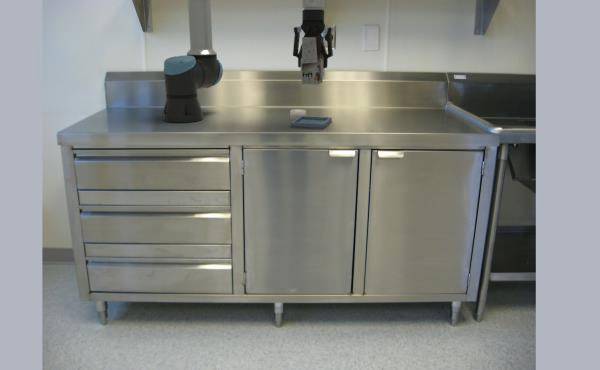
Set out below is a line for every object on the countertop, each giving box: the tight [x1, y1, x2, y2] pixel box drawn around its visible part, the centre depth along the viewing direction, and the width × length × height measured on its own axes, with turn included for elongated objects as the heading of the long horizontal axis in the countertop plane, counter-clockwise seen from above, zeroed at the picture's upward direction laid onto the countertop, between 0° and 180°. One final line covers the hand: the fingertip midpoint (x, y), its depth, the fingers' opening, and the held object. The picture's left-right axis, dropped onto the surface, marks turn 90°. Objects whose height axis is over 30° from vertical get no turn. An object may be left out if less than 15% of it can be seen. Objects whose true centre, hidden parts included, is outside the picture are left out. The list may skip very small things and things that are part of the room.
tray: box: [290, 115, 333, 130], centre depth 184 cm, size 12×14×2 cm
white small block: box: [289, 108, 307, 121], centre depth 194 cm, size 6×6×4 cm
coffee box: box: [301, 36, 325, 86], centre depth 177 cm, size 9×6×16 cm
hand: (312, 77), depth 178 cm, fingers closed on coffee box, 7 cm apart
